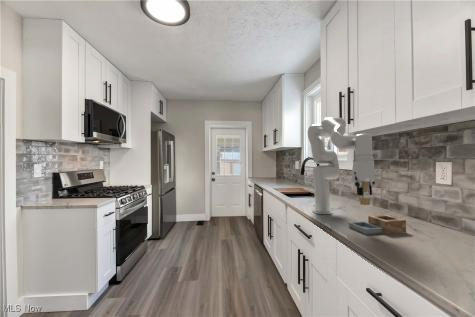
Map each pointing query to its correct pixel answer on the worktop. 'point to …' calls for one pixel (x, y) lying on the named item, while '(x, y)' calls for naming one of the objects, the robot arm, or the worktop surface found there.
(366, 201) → the sprinkles bottle
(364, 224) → the tray
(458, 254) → the worktop surface
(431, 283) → the worktop surface
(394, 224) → the brown wooden box
